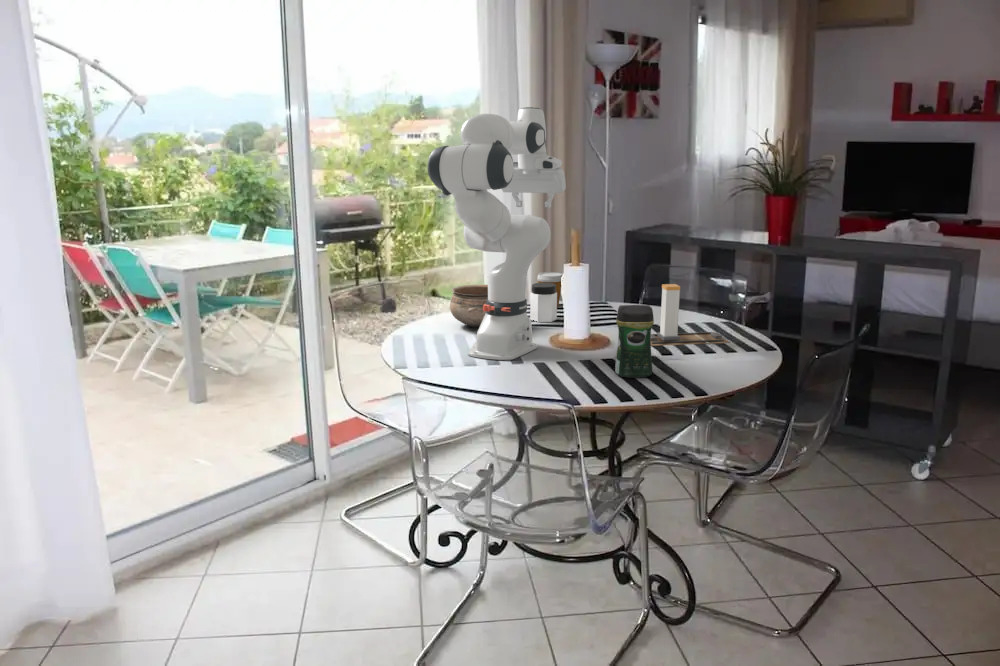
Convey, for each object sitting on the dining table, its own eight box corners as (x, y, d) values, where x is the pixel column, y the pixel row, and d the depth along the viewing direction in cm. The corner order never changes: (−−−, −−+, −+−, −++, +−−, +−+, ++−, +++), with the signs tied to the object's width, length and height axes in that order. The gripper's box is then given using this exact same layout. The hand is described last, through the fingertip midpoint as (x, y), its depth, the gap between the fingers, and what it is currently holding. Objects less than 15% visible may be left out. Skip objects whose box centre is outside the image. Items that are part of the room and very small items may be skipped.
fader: (663, 340, 239) (666, 287, 235) (657, 335, 244) (659, 283, 240) (679, 340, 239) (682, 287, 235) (673, 335, 245) (675, 283, 241)
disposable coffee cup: (550, 302, 298) (550, 271, 295) (568, 307, 291) (569, 274, 288) (531, 306, 292) (531, 273, 289) (549, 310, 285) (549, 277, 282)
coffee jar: (649, 370, 215) (652, 302, 211) (653, 379, 208) (657, 308, 203) (613, 369, 216) (615, 302, 211) (616, 378, 208) (618, 308, 203)
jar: (537, 315, 278) (538, 281, 275) (559, 318, 274) (560, 283, 271) (526, 321, 270) (526, 286, 267) (548, 323, 266) (549, 288, 263)
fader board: (645, 349, 235) (646, 342, 234) (633, 338, 247) (633, 331, 247) (730, 346, 238) (731, 339, 237) (714, 335, 250) (714, 328, 250)
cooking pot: (505, 336, 250) (505, 297, 247) (445, 335, 252) (444, 297, 249) (509, 317, 275) (509, 282, 272) (454, 317, 276) (454, 282, 273)
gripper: (496, 163, 247) (498, 208, 251) (561, 163, 240) (561, 209, 244) (503, 160, 252) (505, 204, 257) (566, 160, 245) (567, 205, 250)
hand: (533, 207), depth 251 cm, fingers open, 8 cm apart
